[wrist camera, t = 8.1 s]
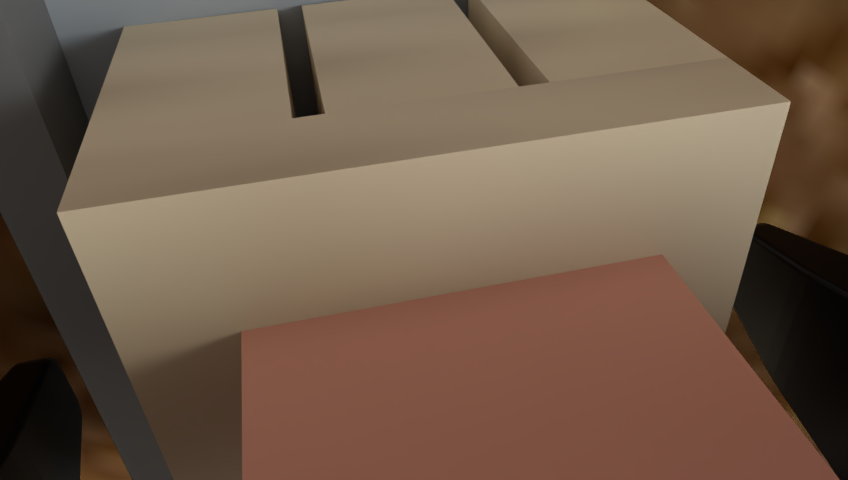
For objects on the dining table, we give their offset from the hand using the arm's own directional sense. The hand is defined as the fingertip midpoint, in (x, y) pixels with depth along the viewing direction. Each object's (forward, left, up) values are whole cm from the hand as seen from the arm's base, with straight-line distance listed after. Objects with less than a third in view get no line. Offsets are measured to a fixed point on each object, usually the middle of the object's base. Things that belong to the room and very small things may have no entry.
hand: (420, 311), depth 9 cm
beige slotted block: (0, 0, -2) cm, 2 cm away
